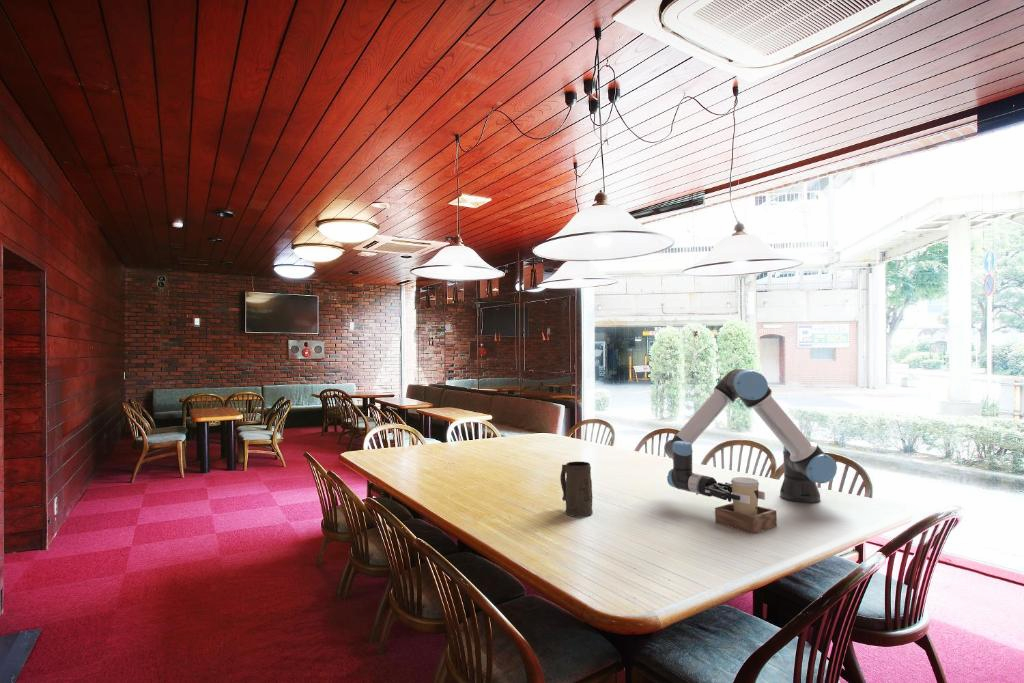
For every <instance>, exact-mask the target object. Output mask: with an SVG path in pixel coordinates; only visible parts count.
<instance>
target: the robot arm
mask: <svg viewBox="0 0 1024 683" xmlns="http://www.w3.org/2000/svg"><path fill="white" fill-rule="evenodd" d="M772 393H773V390H772V389H771V388H770V386H768V381H767V378H766V377H765V376H764V375H763V374H762V373H761V372H758V371H756V370H754V369H742V368H736V369H732V370H731V371H728V372H727V373H726V374H725V375H724V377H722V378H721V379H720V381H719V382H718V383H717V384H716V385H715V386H714V388H713V392H712V394H710V396H709V397H708V398H707V399H706V400H705V401H704V403H703V404H702V406H700V407H699V408H698V409H697V411H696V412H694V414H693V415H692V417H691V418H690V419H688V421H687V422H686V423H685V424H684V426H682V428H681V429H680V430H679V431H678V432H677V434H676V435H675V436H674V437H673V438H672V439H670V440H667V441H666V442H665V443H664V446H663V447H664V448H663V450H664V452H665V455H666V456H667V457H668V458H670V459H672V463H673V464H672V465H673V467H672V469H670V470H669V471H668V473H667V474H668V475H667V476H666V481H667V483H668V485H669V486H671V487H672V488H675V489H677V490H681V491H685V492H686V491H687V492H690V493H695V495H697V496H698V495H702V496H705V497H709V498H710V497H711V498H712V497H714V498H717V499H721V500H724V501H728V502H729V503H732V501H733V500H735V501H739V502H743V503H747V504H750V496H748V495H743V494H739V493H735V492H732V483H731V482H725V483H723V482H717V480H716V478H714V477H713V476H712V477H711V476H708V475H704V474H699V473H694V472H693V446H692V445H693V444H694V443H695V442H696V441H697V440H698V439H699V438H700V436H701V435H702V434H703V433H704V431H706V430H707V428H708V427H709V426H710V425H711V424H712V423H713V422H714V420H716V418H717V417H718V416H719V415H720V414H721V413H722V412H723V410H725V408H726V407H727V406H728V405H731V404H733V403H734V402H735V401H736V400H737V399H738V398H739V400H740V401H741V402H742V403H743V404H744V406H745V407H746V408H749V409H752V410H754V412H755V413H756V414H757V415H758V416H759V417H760V419H761V420H762V421H763V423H764V424H765V425H766V426H767V427H768V429H769V430H770V431H771V433H772V434H774V436H775V437H776V438H777V439H778V440H779V442H780V443H781V445H783V451H782V454H783V455H782V456H783V476H784V477H783V481H782V484H781V487H780V490H779V496H780V498H782V499H784V500H787V501H790V500H791V502H797V503H819V502H821V493H820V490H819V488H818V486H817V484H826V483H828V482H831V481H832V480H833V479H834V478H835V477H836V474H837V470H838V466H837V463H836V460H835V459H834V458H833V457H831V456H830V455H828V454H826V453H824V451H823V450H822V449H821V448H820V447H819V445H818V444H817V443H816V442H813V441H809V439H808V438H807V437H806V436H805V435H804V434H803V432H802V431H801V430H800V428H799V427H798V426H797V425H796V424H795V423H794V421H793V420H792V419H791V418H790V417H789V416H788V414H787V413H786V412H785V411H784V409H782V407H781V406H780V405H779V404H778V402H777V401H776V400H775V399H774V398H773V397H772V395H773V394H772ZM758 500H764V501H765V500H766V492H765V491H762V490H758Z"/></svg>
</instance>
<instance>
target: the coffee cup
mask: <svg viewBox="0 0 1024 683" xmlns="http://www.w3.org/2000/svg"><path fill="white" fill-rule="evenodd" d="M730 484H732V492H735V493H739V494H743V495H748V496H750V504H747V503H743V502H739V501H735V500H732V503H733V506H734V512H736V513H740V514H744V515H748V516H754V515H757V507H758V506H759V505H758V504H759V499H758V491H759V486H760V483H759V481H758V480H757V479H755V478H751V477H745V476H744V477H742V476H741V477H738V476H737V477H733V478H731V480H730Z"/></svg>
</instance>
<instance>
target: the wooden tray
mask: <svg viewBox="0 0 1024 683" xmlns="http://www.w3.org/2000/svg"><path fill="white" fill-rule="evenodd" d="M714 510H715V511H714V521H715V524H718V523H719V524H718V525H721V524H722V525H721V526H724V525H725V527H728V526H729V528H731V527H732V529H734V528H735V529H736V530H738V529H739V530H738V531H741V530H742V531H741V532H744V531H745V532H744V533H748V532H749V534H751V533H752V534H751V535H754V534H757V533H760V532H763V531H766V530H768V528H769V529H771V527H772V528H774V526H775V527H777V524H778V523H777V522H778V519H777V510H776V509H771V508H768V507H764V506H759V505H758V507H757V515H754V516H748V515H744V514H740V513H736V512H734V506H733V502H730V503H729V504H728V503H727V504H725V505H721V506H717V507H714ZM735 529H734V530H735ZM765 529H766V530H765ZM762 530H763V531H762ZM759 531H760V532H759ZM756 532H757V533H756ZM753 533H754V534H753Z"/></svg>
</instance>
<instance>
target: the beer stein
mask: <svg viewBox="0 0 1024 683" xmlns="http://www.w3.org/2000/svg"><path fill="white" fill-rule="evenodd" d="M591 469H592V468H591V464H590V462H587V461H569V462H567V463H566V464H561V473H560V477H559V480H560V485H561V490H562V494H563V496H562V498H561V499H562V502H565V511H564V512H566V513H567V514H569V515H573V516H587V517H590V516H591V514H593V511H594V510H593V481H592V480H593V479H592V473H591ZM566 513H565V514H566ZM567 514H566V515H567ZM569 515H568V516H569ZM589 515H590V516H589ZM573 516H572V517H573Z"/></svg>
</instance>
